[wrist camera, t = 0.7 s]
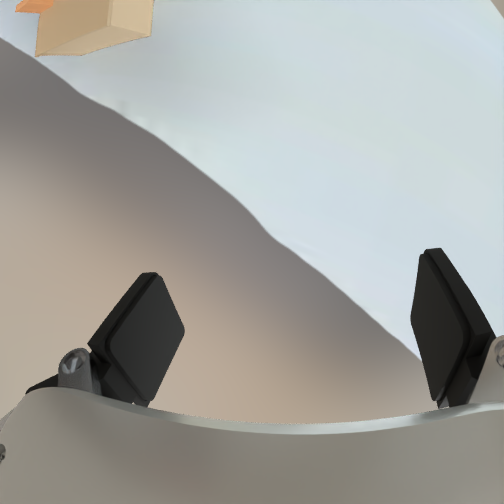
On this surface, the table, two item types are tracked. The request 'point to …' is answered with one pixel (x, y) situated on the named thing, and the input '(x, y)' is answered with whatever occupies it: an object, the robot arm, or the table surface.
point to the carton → (113, 29)
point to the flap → (66, 20)
